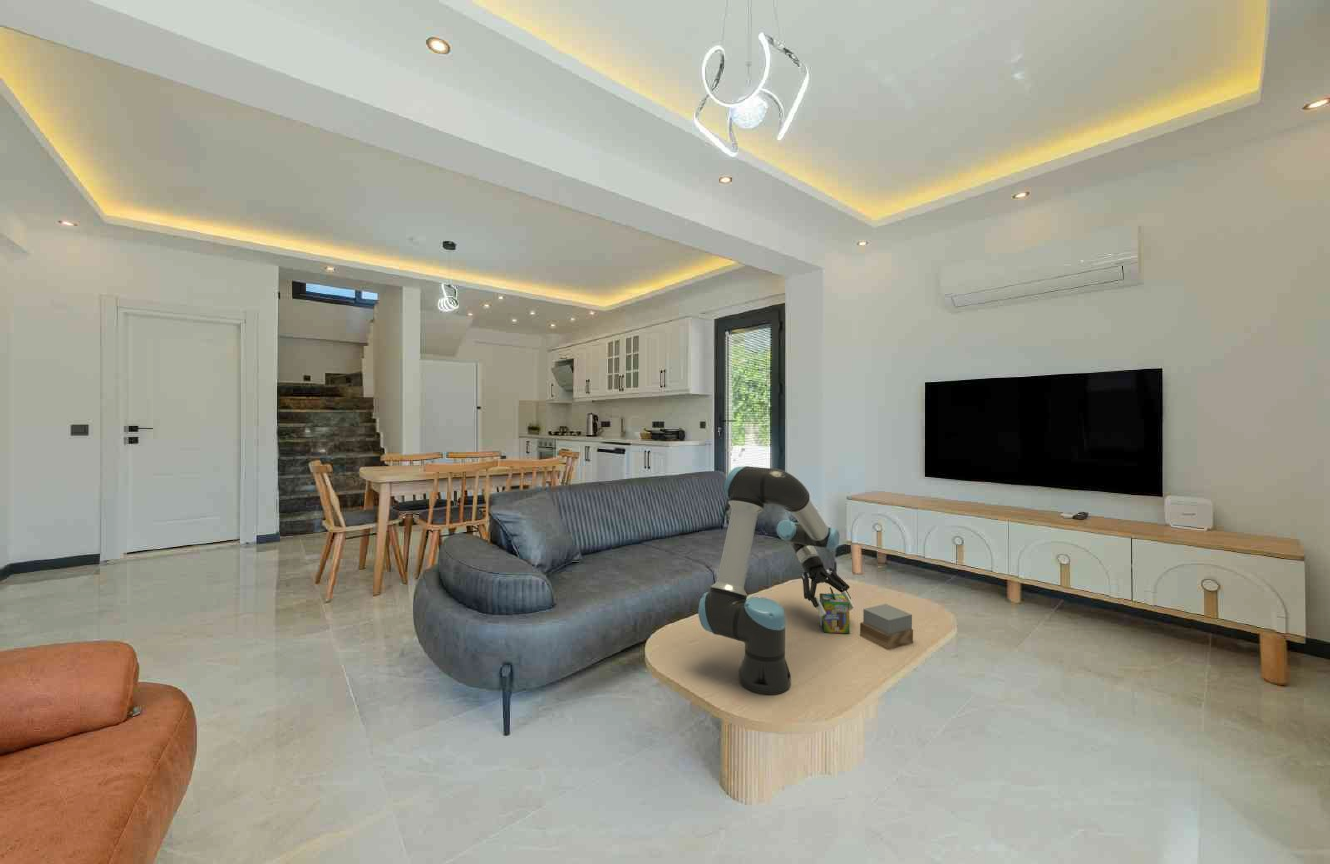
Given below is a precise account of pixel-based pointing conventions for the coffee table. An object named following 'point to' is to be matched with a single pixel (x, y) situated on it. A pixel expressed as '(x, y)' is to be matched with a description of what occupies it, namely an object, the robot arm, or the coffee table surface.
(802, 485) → the robot arm
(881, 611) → the tower top slab
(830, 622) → the chalk box
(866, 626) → the tower bottom slab
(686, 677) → the coffee table surface
